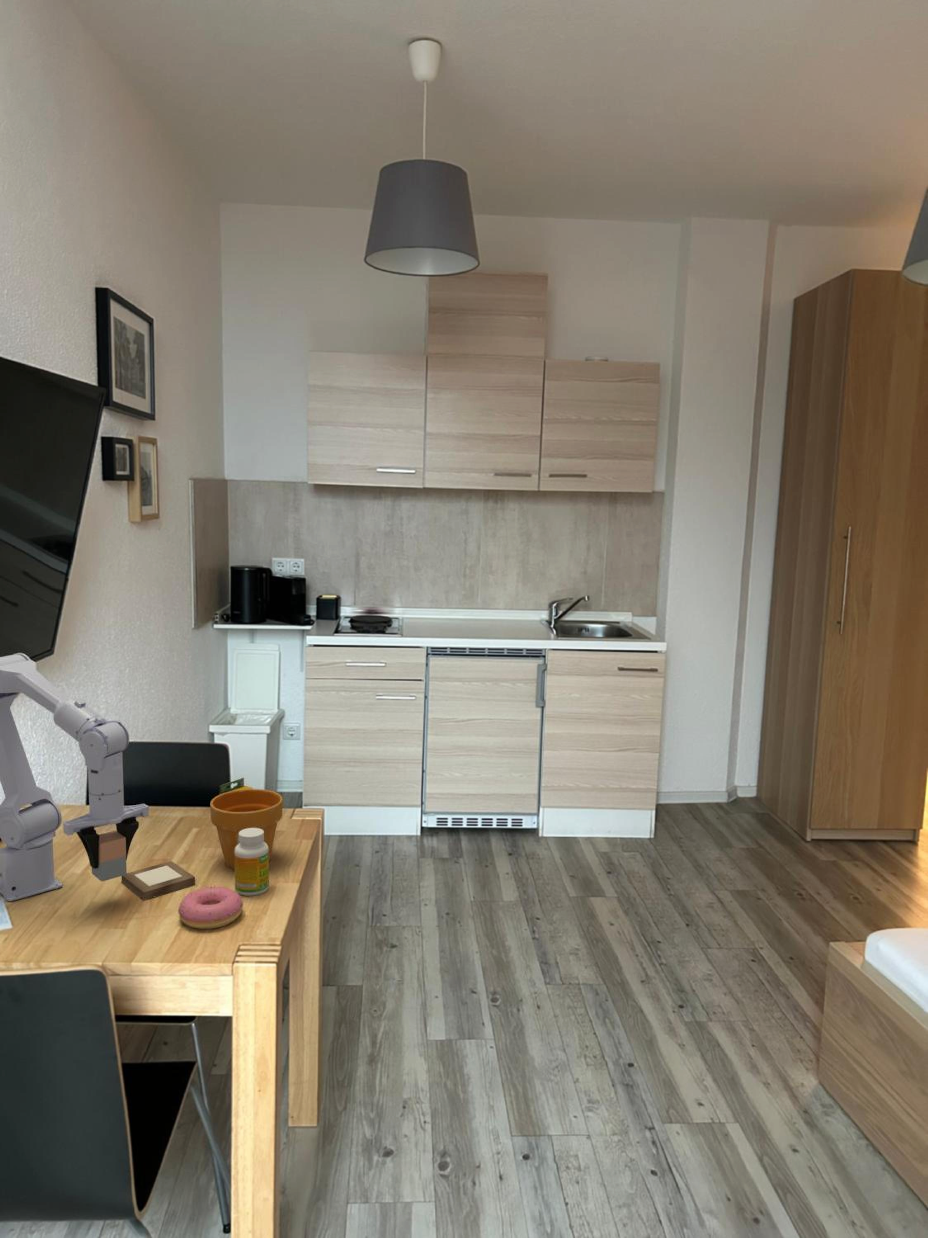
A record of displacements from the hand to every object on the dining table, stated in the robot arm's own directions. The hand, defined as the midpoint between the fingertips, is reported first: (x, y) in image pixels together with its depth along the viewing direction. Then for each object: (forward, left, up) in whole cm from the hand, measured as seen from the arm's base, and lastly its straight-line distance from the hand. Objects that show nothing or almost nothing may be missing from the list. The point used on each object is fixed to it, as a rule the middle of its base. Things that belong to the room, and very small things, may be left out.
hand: (108, 863), depth 156 cm
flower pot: (+28, 0, -8) cm, 29 cm away
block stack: (0, 0, -2) cm, 2 cm away
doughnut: (+11, -17, -8) cm, 22 cm away
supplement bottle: (+22, -12, -8) cm, 26 cm away
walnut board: (+10, +2, -8) cm, 13 cm away
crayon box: (+34, +15, -8) cm, 38 cm away
